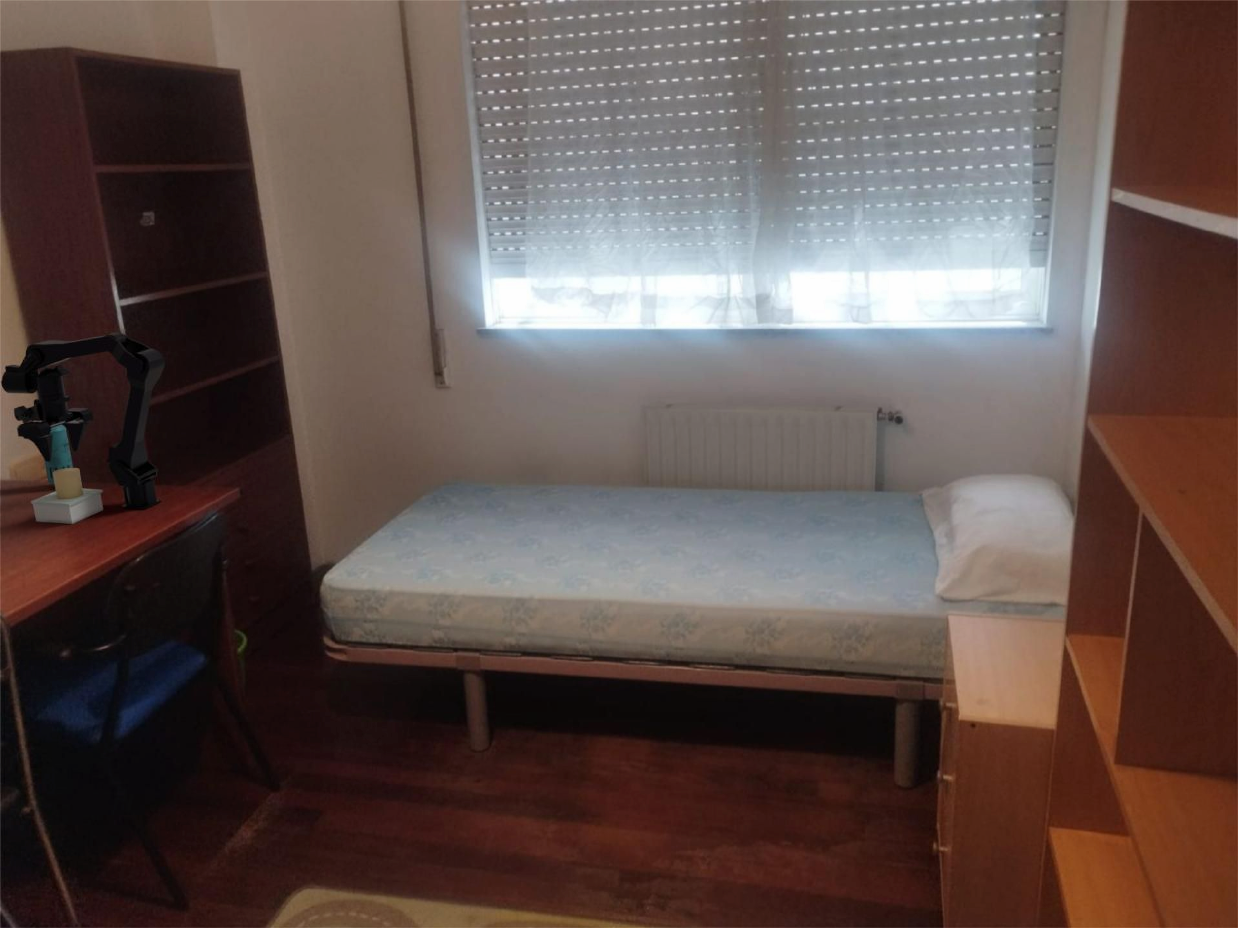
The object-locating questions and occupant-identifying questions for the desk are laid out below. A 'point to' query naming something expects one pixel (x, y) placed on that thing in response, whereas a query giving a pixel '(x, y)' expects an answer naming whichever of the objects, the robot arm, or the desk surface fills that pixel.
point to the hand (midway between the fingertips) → (62, 456)
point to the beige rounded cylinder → (68, 483)
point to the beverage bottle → (58, 452)
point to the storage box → (68, 511)
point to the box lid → (53, 500)
